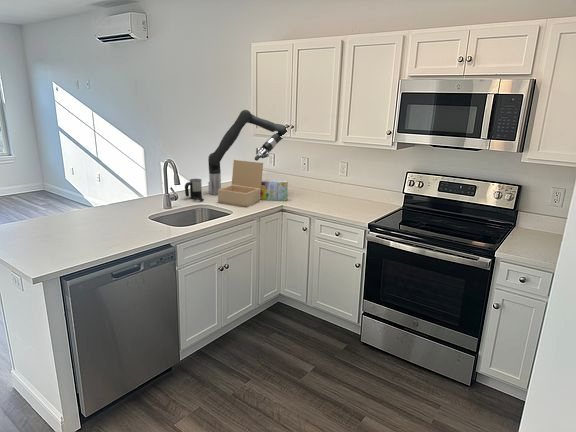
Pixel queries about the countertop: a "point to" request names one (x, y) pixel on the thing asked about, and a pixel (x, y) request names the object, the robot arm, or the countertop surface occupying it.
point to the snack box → (273, 190)
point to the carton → (239, 195)
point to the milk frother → (194, 189)
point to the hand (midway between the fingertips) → (255, 159)
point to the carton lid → (247, 174)
